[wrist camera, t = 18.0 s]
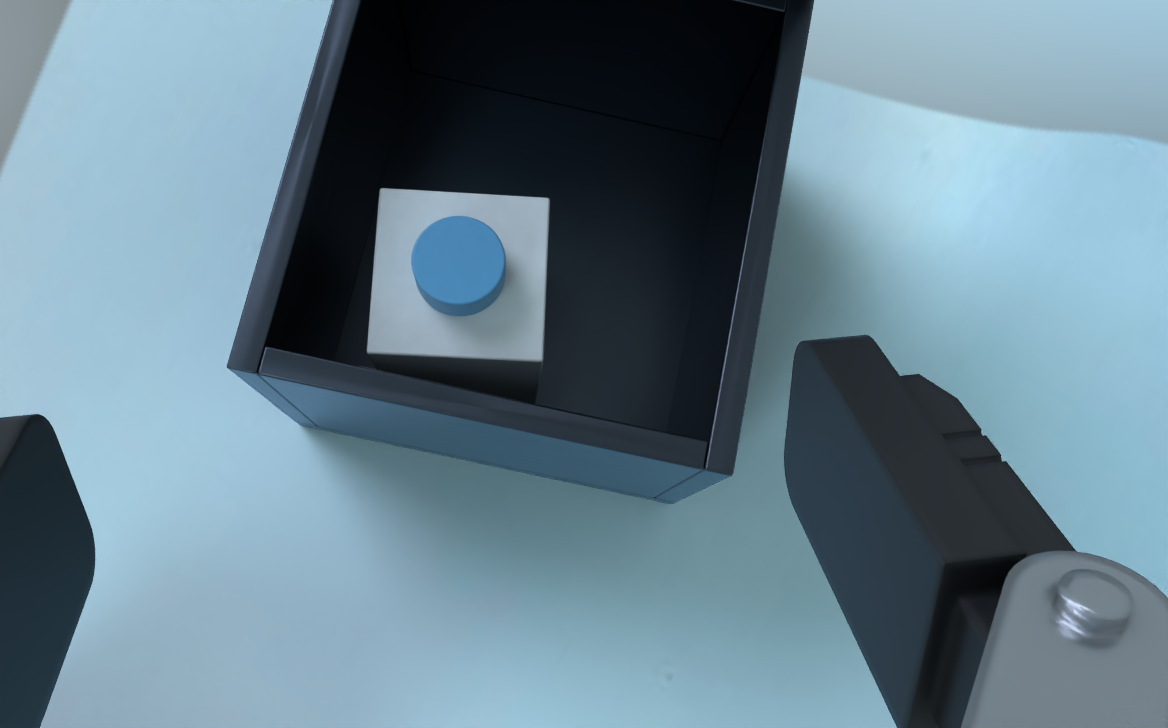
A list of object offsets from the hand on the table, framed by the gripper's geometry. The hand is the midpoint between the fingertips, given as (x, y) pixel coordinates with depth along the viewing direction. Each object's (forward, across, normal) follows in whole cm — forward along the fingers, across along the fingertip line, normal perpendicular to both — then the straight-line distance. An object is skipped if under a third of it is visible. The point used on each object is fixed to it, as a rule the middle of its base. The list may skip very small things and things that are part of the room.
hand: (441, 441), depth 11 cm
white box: (+22, 0, +12) cm, 25 cm away
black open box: (+25, -3, +11) cm, 27 cm away
